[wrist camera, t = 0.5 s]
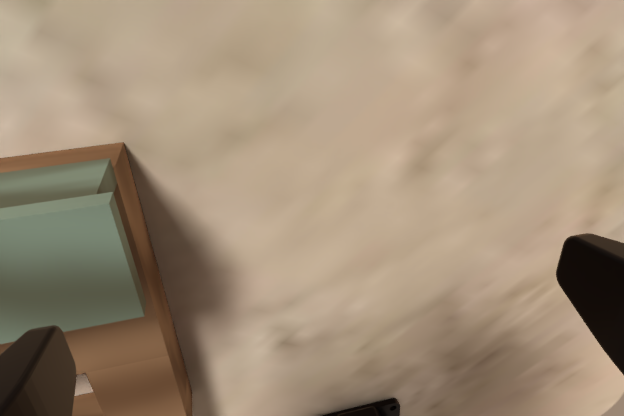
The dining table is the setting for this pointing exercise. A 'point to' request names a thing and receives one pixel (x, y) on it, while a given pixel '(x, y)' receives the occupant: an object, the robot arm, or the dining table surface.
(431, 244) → the dining table surface
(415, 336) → the dining table surface
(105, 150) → the socket board
